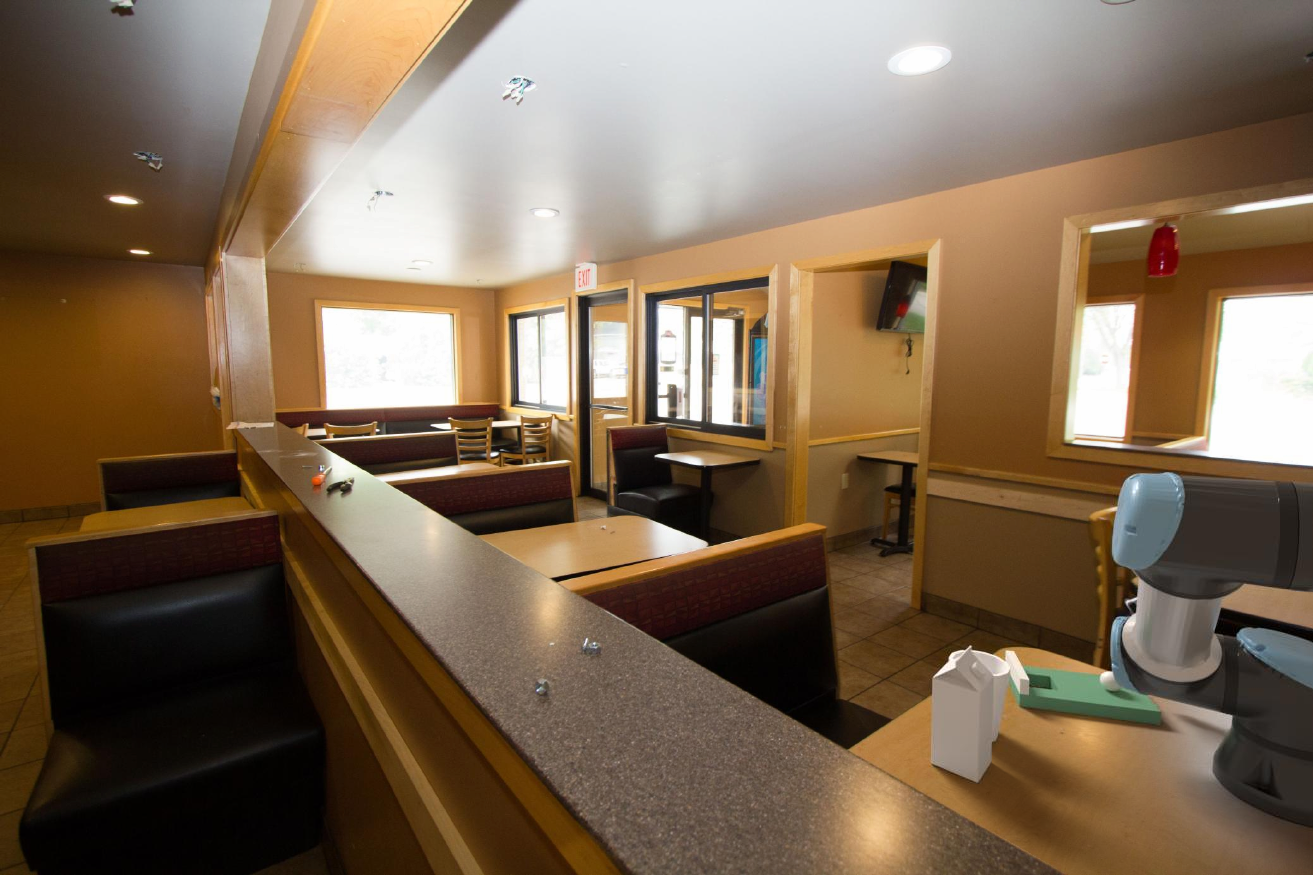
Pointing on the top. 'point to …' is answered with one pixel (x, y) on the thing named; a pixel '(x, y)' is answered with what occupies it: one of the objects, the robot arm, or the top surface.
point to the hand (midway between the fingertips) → (1162, 689)
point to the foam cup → (1000, 683)
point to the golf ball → (1109, 681)
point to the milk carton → (962, 717)
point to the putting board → (1077, 694)
